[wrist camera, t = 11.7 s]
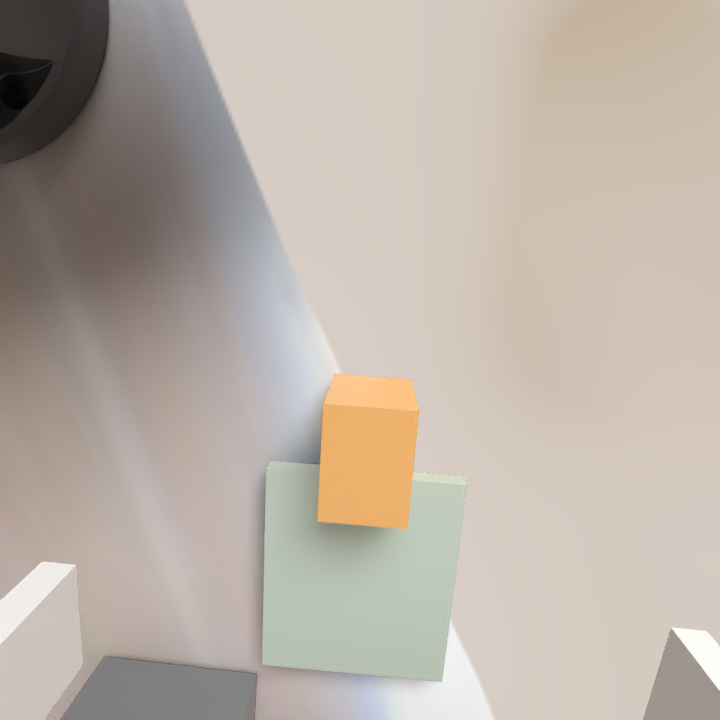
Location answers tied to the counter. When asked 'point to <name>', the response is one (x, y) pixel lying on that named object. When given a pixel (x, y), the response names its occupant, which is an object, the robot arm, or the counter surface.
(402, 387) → the lid
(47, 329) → the counter surface
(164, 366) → the counter surface
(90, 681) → the tub
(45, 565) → the robot arm
